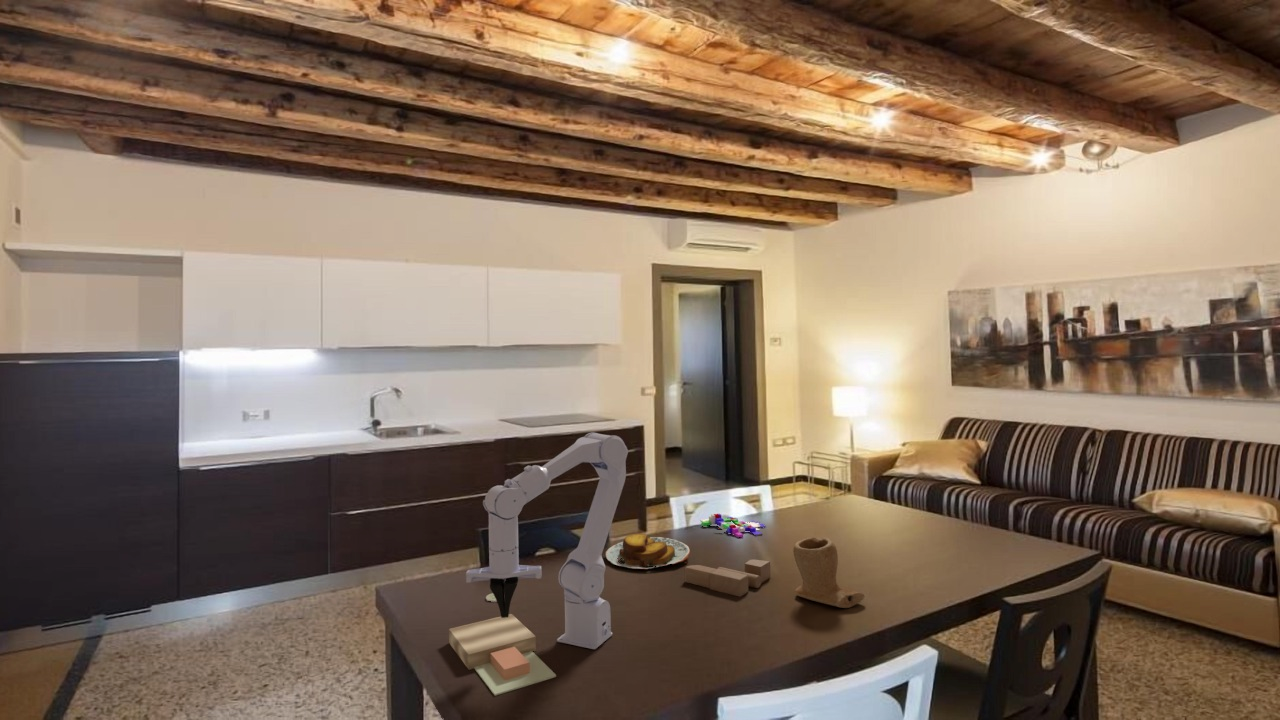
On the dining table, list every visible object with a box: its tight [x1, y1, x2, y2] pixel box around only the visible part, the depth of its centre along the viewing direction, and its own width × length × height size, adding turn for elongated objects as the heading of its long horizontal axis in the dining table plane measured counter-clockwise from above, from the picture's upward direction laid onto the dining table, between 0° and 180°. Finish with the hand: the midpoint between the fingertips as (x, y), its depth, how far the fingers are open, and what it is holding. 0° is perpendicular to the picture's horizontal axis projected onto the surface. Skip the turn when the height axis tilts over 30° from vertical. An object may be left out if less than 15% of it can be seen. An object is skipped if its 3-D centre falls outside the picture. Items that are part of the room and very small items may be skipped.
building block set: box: [699, 513, 767, 538], centre depth 221 cm, size 25×20×4 cm
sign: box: [485, 592, 497, 603], centre depth 154 cm, size 5×1×15 cm
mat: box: [473, 651, 557, 697], centre depth 121 cm, size 12×12×1 cm
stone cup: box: [793, 537, 865, 609], centre depth 153 cm, size 15×12×15 cm
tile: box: [490, 647, 530, 680], centre depth 122 cm, size 8×5×2 cm, turn 32°
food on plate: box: [605, 533, 691, 570], centre depth 188 cm, size 26×25×7 cm
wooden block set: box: [684, 558, 771, 597], centre depth 168 cm, size 17×6×18 cm
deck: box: [448, 613, 537, 671], centre depth 132 cm, size 14×14×3 cm
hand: (505, 615), depth 125 cm, fingers closed
